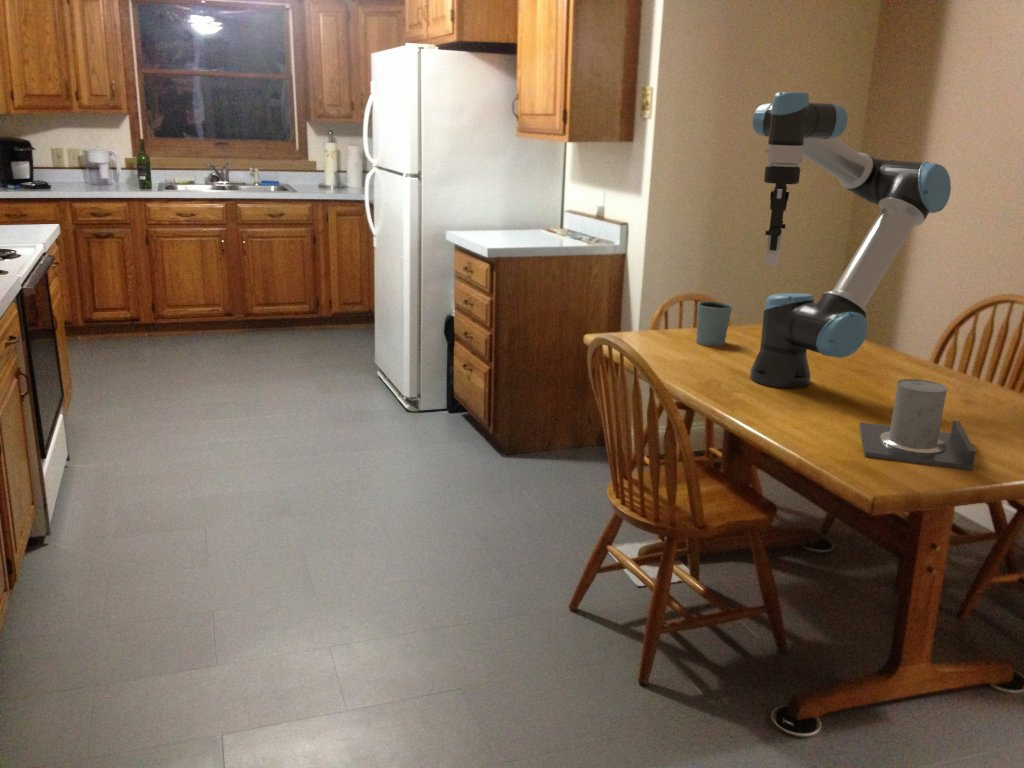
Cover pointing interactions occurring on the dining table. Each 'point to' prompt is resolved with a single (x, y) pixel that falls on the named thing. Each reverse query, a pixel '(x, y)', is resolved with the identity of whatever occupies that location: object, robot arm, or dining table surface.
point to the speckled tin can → (917, 413)
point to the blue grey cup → (712, 323)
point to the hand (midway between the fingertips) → (772, 260)
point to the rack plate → (948, 452)
